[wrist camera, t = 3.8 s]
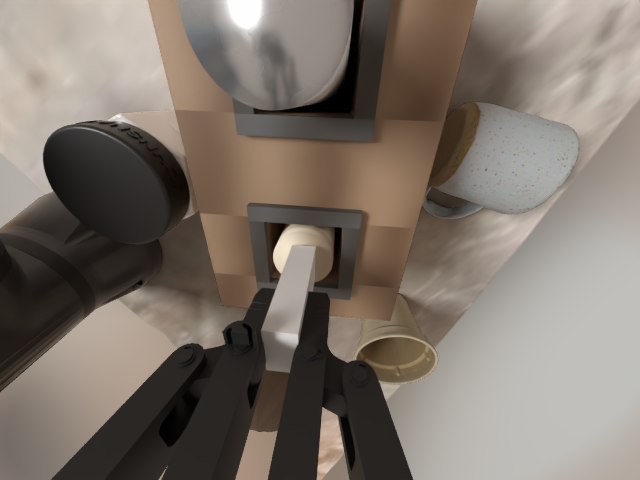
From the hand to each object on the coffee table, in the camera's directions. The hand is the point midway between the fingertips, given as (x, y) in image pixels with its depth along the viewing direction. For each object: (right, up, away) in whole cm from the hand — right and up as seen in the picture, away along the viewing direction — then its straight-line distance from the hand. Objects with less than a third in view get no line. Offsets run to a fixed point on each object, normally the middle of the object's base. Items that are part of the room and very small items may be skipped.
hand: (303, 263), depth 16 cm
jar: (-12, +11, +10) cm, 19 cm away
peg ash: (+1, +6, +10) cm, 11 cm away
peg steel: (+1, +12, -1) cm, 12 cm away
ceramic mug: (+15, +9, +9) cm, 20 cm away
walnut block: (+1, +11, +9) cm, 14 cm away
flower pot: (+10, -8, +19) cm, 23 cm away
